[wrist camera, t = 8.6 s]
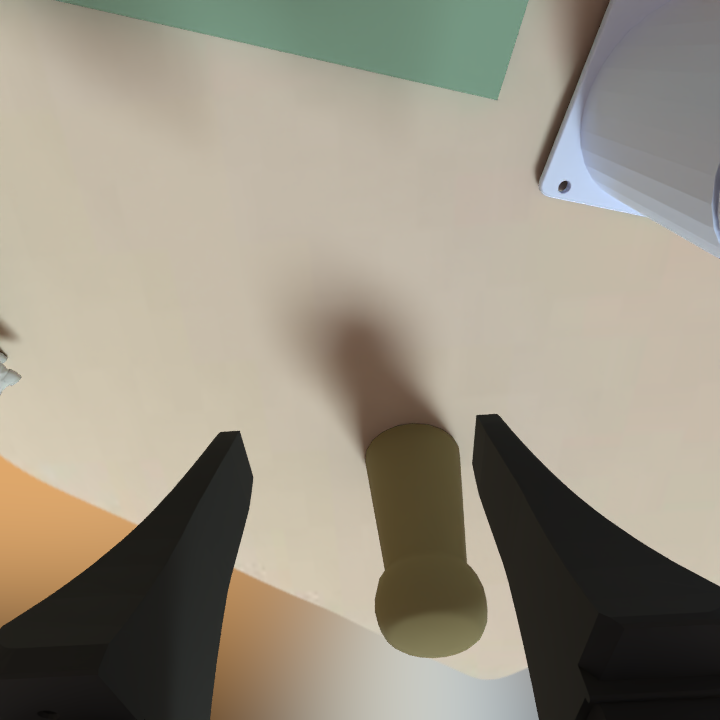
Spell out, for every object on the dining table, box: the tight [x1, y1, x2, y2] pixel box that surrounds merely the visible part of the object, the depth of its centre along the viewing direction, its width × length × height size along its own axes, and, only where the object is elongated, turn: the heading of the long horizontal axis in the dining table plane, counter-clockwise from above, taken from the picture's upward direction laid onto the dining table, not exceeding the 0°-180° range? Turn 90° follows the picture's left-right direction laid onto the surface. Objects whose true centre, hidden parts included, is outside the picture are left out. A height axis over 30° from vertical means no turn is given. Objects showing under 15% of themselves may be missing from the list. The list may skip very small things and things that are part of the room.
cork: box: [365, 423, 487, 658], centre depth 24 cm, size 6×6×11 cm
